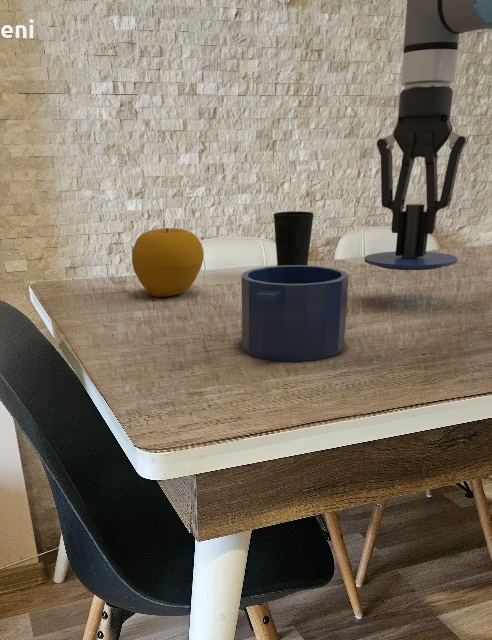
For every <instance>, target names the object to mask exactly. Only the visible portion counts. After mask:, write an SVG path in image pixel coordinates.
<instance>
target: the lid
mask: <svg viewBox="0 0 492 640" xmlns="http://www.w3.org/2000/svg"><path fill="white" fill-rule="evenodd" d="M425 205H426V204H424V203H407V204H406V205H405V211H406V213H405V224H404V235H403V246H402V255H401V256H395V255H396V251H384V252H376V253H375V252H374V253H370V254H367V255H366V256H364V258H363V259H364V260H363V261H364V263H366V264H368V265H371V266H376V267H379V268H381V269H387V270H395V271H397V270H398V271H427V270H437V269H440V268H444V267H449V266H453V265H455V264H457V263H458V257H457V256H455V255H453V254H449V253H443V252H434V251H426V254H425V255H424V256H423V257H417V255H418V245H419V235H420V225H421V215H422V213H423V212H425Z"/></svg>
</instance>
